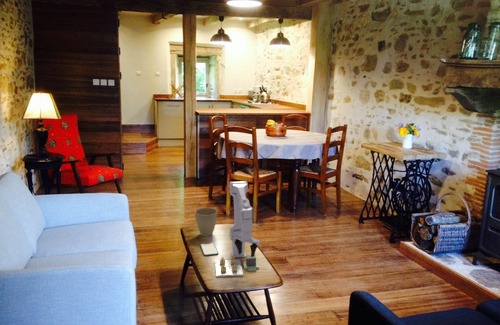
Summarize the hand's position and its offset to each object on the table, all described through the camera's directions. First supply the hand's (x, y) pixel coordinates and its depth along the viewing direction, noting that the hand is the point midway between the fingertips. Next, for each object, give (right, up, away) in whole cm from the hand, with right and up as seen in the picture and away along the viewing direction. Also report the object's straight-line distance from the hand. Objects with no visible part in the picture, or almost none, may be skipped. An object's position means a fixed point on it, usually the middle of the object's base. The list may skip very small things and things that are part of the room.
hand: (246, 254), depth 220 cm
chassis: (-10, -9, +6) cm, 14 cm away
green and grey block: (+2, -8, +9) cm, 13 cm away
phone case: (-23, -4, +30) cm, 38 cm away
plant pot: (-27, +1, +55) cm, 61 cm away
